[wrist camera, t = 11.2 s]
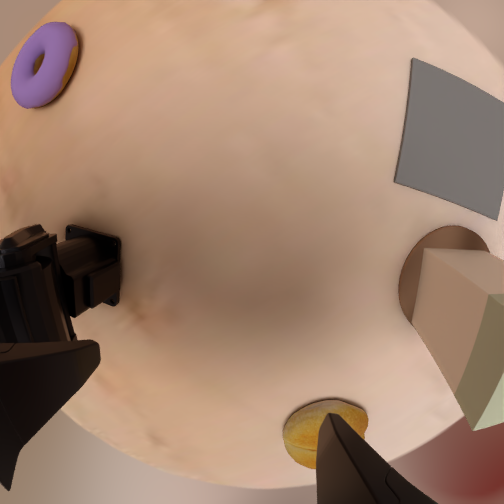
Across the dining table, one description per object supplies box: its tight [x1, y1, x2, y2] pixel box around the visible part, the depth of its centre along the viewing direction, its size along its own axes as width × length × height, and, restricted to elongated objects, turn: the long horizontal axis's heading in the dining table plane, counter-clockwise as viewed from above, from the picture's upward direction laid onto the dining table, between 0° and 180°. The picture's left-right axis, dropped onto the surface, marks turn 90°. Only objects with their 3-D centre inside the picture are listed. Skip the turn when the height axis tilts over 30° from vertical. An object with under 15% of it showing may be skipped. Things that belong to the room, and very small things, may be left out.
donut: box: [11, 22, 78, 109], centre depth 19 cm, size 10×9×5 cm
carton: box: [411, 248, 504, 431], centre depth 13 cm, size 6×6×12 cm
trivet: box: [399, 226, 490, 325], centre depth 19 cm, size 9×9×1 cm
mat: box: [394, 58, 504, 221], centre depth 16 cm, size 10×10×1 cm
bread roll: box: [283, 400, 368, 469], centre depth 23 cm, size 8×9×4 cm
